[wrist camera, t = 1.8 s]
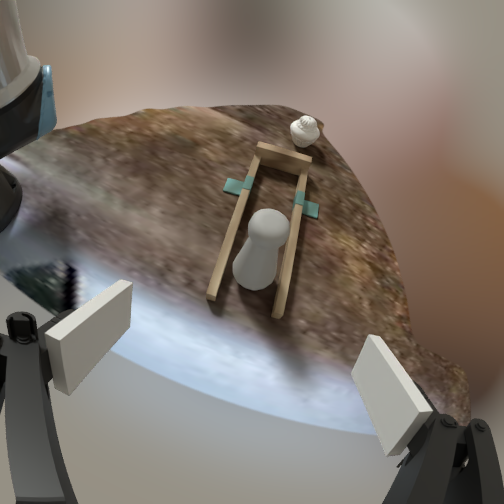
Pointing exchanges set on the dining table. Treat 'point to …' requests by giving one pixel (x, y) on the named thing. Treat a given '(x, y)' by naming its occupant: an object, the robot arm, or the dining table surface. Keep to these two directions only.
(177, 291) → the dining table surface
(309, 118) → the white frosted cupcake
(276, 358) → the dining table surface
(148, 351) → the dining table surface
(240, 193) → the guide rails
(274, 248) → the salt shaker
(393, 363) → the robot arm
